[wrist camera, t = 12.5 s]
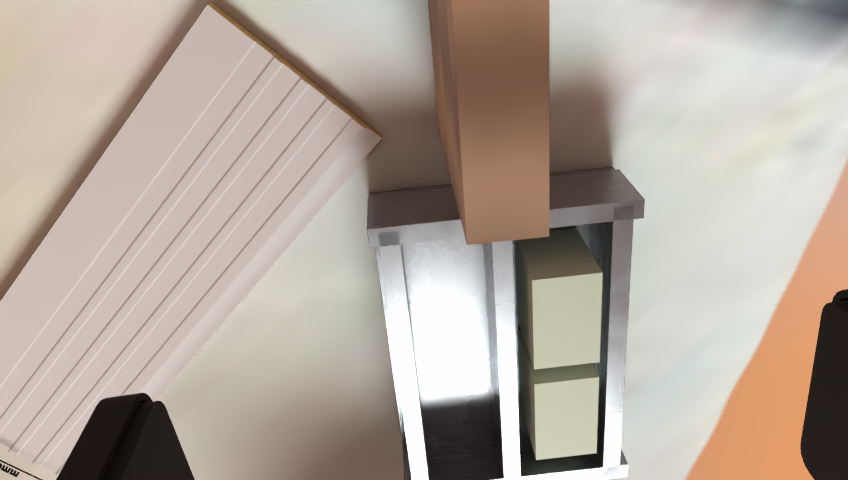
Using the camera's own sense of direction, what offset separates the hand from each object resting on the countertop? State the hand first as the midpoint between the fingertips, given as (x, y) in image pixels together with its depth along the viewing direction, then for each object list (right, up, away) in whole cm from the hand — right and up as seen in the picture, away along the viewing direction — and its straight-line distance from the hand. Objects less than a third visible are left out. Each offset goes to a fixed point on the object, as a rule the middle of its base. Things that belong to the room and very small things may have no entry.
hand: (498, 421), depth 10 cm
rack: (+3, -2, +32) cm, 32 cm away
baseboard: (-17, 0, +30) cm, 35 cm away
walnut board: (+1, +14, +24) cm, 27 cm away
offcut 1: (+6, +1, +30) cm, 30 cm away
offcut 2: (+7, -5, +33) cm, 34 cm away
